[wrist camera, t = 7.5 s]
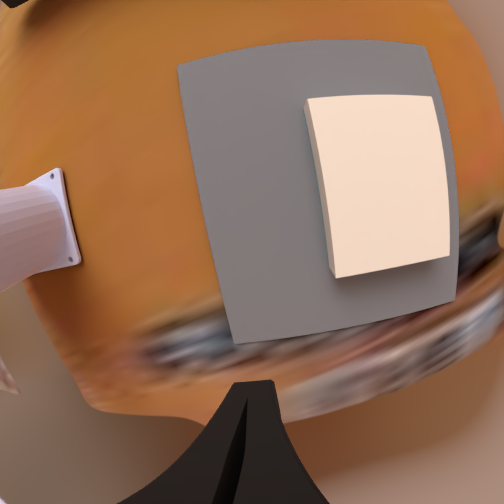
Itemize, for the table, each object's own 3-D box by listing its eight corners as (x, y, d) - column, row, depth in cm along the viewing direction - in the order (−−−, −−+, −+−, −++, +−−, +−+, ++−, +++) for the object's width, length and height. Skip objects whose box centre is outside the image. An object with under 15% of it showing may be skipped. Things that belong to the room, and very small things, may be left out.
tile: (335, 278, 15) (449, 255, 14) (307, 98, 13) (431, 96, 12) (328, 265, 17) (431, 246, 16) (302, 109, 15) (414, 104, 14)
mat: (235, 341, 20) (234, 343, 20) (178, 67, 15) (176, 65, 14) (452, 298, 18) (454, 300, 17) (422, 47, 13) (424, 46, 12)
